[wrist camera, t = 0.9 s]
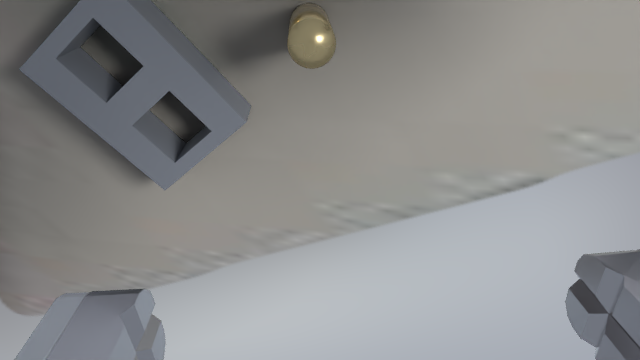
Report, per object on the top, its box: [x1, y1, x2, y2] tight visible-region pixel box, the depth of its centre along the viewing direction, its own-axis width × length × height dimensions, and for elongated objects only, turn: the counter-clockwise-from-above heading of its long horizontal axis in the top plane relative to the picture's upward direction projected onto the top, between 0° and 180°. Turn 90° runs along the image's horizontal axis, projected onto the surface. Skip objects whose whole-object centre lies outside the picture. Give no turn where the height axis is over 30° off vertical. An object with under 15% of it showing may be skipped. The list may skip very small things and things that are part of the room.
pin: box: [287, 3, 336, 69], centre depth 31 cm, size 3×3×8 cm
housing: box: [19, 0, 251, 190], centre depth 35 cm, size 14×10×4 cm
